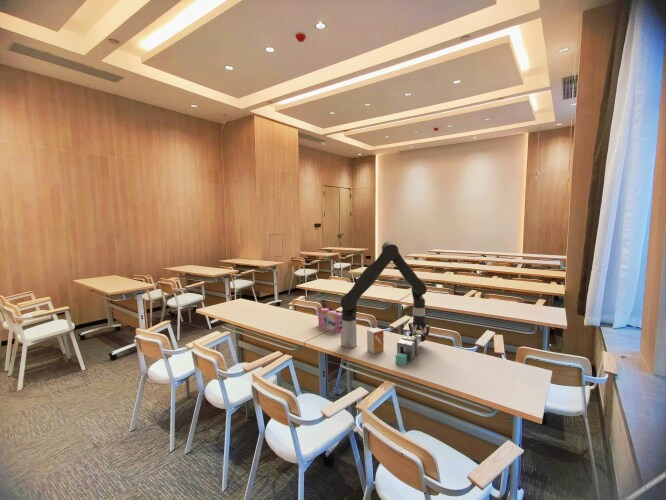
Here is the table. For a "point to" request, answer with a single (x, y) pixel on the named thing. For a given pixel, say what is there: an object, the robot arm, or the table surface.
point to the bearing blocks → (410, 344)
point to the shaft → (417, 336)
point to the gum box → (330, 319)
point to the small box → (375, 340)
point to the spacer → (401, 359)
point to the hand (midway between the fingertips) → (419, 340)
